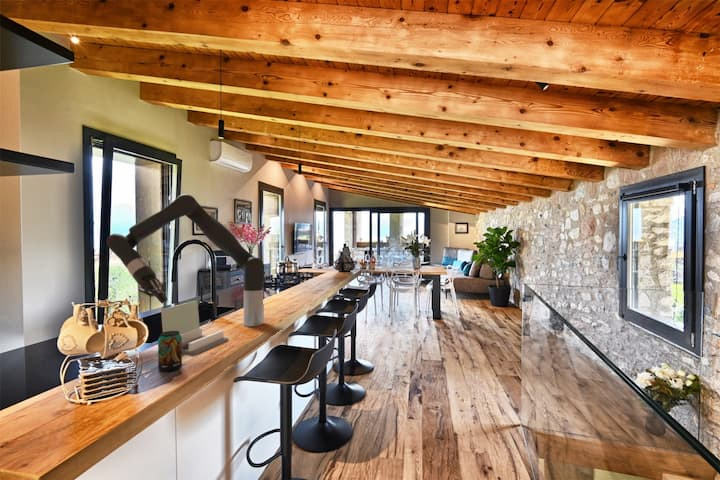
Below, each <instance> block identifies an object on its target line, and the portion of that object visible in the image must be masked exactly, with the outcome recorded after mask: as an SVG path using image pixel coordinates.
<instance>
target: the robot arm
mask: <svg viewBox="0 0 720 480" xmlns="http://www.w3.org/2000/svg"><path fill="white" fill-rule="evenodd" d="M181 217H186V218H188V219H189V220H191V221H192V222H193V223H194V224H195V225H196V226H197V227H198V228H199V230H200V231H201V232H202V233H203V234H204V236H205V237H206V238H207V239H208V240H209V241H210V242H211V243H213V245H214V246H216V248H218V249H219V250H220V251H222V252H223V253H225V254H226V255H227V256H229V257H230V258H231V259H232V260H234V262H235V263H236V264H237V265H238V266H239V267H240V268H241V270H242V271H243V272H244V284H243V326H245V327H259V326H262V325H264V322H265V320H264V319H265V312H264V311H265V310H264V307H265V304H264V285H265V264H264V261H263V260H262V259H261V258H258V257H256V256H254V255H253V254H251V253H250V252H249V251H248V250H246V248H244V247H243V246H242V244H241V243H240V241H239V240H238V239H237V238H236V237H235V235H234V234H233V233H232V232H231V231H230V230H229V229H228V228H227V227H226V226H224V225H223V224H222V223H221V222H220V221H218V220H217V219H216V218H214V217H213V216H212V215H210V214H209V213H208V212H207V211H206V209H204V208H203V207H202V205H200V203H199V202H198V201H197V200H196V198H195V197H194V196H193V195H191V194H188V193H182V194H180V195H178V196H177V197H176V198H175V199H174V200H173V201H172V202H171V203H170V204H169V205H167V206H165V207H164V208H163V209H161V210H159V211H157V212H156V213H154V214H152V215H150V216H148V217H146V218H144V219H142V220H140V221H139V222H137V223H136V224H134V225H132V226H131V227H130V228H129V229H128V232H129V233H128V234H127V235H123V234H121V233H112V234H110V235H109V236H107V238H106V244H107V246H108V248H109V249H110V250H111V252H112V253H113V254H114V255H115V256H116V257H118V258H119V259H120V261H121V263H122V264H123V265H124V266H125V268H126V269H127V271H128V273H129V274H130V275H131V277H132V278H133V279H134V280H135V282H136V283H137V285H139V286H140V287H139V288H138V289H137V290H138V291H139V292H141V293H143V294H145V295H146V296H148V297H151V298H153V297H155V298H156V299H157V300H158V302H159V303H161V304H166V303H167V302H168V297H167V296H166V295H165V293H166V291H167V282H166V281H163V282H162V281H160V279H158V277H156V276H157V275H156V272H155V271H154V270H153V268H152V267H151V266H150V265H149V263H148V262H147V261H146V259H144V258H143V257H142V256H141V254H140V253H139V252H138V251H137V250H136V249H134V248H136V247H137V246H138V245H139V244H140V243H141V241H143V240H144V239H146V238H148V237H150V236H152V235H153V234H155V232H158V231H159V230H161V229H162V228H163V227H165V226H166V225H168V224H170V223H171V222H173V221H175V220H177V219H180V218H181Z"/></svg>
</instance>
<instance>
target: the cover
mask: <svg viewBox="0 0 720 480" xmlns="http://www.w3.org/2000/svg"><path fill="white" fill-rule="evenodd" d="M160 311H161V313H160V314H161V326H162V333H163V332H167V331H179V332H180V333H179V334H180V335H183V334H186V333H189V332H191V331H194V330H197V329H201V328H200V327H201V326H200V316H199V305H198V300H193V301H190V302H189V301H188V302H185V303H180V304H177V305H172V306H169V307H165V308H160Z"/></svg>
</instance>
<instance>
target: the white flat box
mask: <svg viewBox="0 0 720 480" xmlns="http://www.w3.org/2000/svg"><path fill="white" fill-rule="evenodd" d="M181 337H182V355H190V356H195V355H198V354H201V353H203V352H205V351H207V350H209V349H212V348H214V347H216V346H219V345H221V344H223V343H226V342H227V341H229V337H224V330H219V331H217V332H214V333H211V334H209V335H203V328H199V329H196V330H194V331H191V332H188V333H185V334H182V335H181Z"/></svg>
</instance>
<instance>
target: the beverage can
mask: <svg viewBox="0 0 720 480" xmlns="http://www.w3.org/2000/svg"><path fill="white" fill-rule="evenodd" d="M179 333H180V332H179V331H167V332H163V331H162V332H161V333H160V335H159V337H158V339H157V357H158V358H157V359H158V360H157V362H158V363H157V364H158V365H157V367H158V368H157V369H158V370H160V372H162V373H169V372H170V373H171V372H174V371H178V370H180V368H181V367H182V366H183V361H182V360H183V359H182V358H183V357H182V356H183V354H182V337H181V335H180V334H179Z"/></svg>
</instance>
